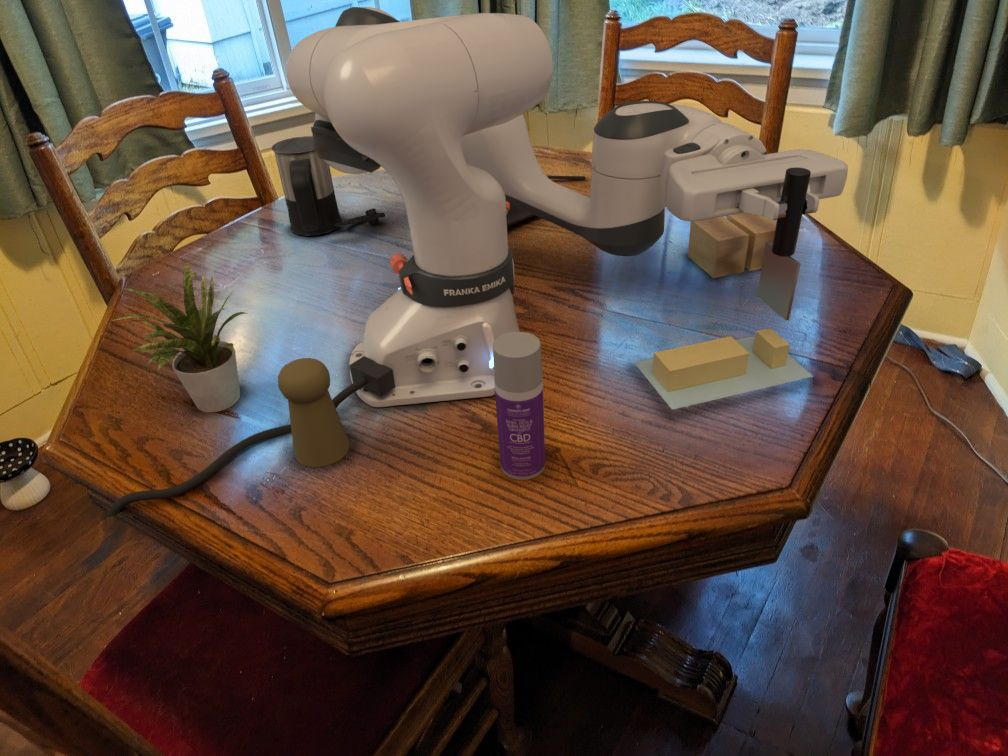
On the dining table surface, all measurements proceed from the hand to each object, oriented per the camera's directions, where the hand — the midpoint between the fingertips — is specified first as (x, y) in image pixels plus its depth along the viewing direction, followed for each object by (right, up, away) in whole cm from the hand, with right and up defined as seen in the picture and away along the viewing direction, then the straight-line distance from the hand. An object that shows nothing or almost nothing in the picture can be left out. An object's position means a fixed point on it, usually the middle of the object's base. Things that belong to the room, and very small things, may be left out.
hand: (796, 209), depth 76 cm
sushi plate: (-30, +18, +63) cm, 72 cm away
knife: (0, -9, +8) cm, 12 cm away
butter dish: (-4, -17, +11) cm, 21 cm away
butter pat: (+2, -15, +12) cm, 19 cm away
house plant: (-66, -20, +14) cm, 70 cm away
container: (-28, -27, +1) cm, 39 cm away
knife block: (+4, 0, +35) cm, 36 cm away
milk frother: (-60, +9, +54) cm, 81 cm away
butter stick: (-7, -17, +10) cm, 21 cm away
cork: (-50, -25, +5) cm, 57 cm away
